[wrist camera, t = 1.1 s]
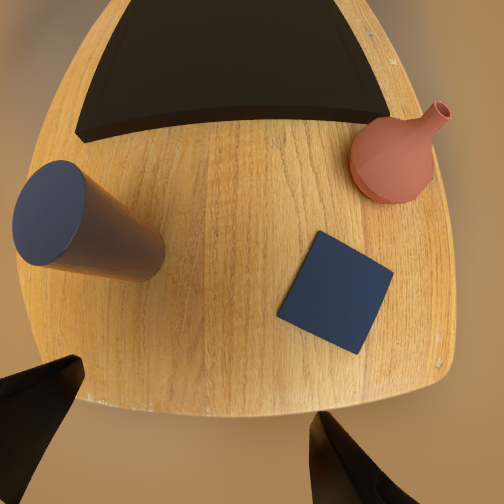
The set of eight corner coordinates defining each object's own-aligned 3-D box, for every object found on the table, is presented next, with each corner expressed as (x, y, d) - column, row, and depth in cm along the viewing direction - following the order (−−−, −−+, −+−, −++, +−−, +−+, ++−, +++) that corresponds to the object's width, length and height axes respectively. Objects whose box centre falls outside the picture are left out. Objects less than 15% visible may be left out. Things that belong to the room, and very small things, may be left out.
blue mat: (355, 353, 22) (357, 355, 21) (276, 315, 22) (276, 316, 22) (391, 273, 23) (394, 272, 22) (318, 231, 23) (319, 230, 23)
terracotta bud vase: (418, 194, 24) (494, 144, 12) (369, 228, 24) (452, 179, 12) (377, 134, 25) (431, 63, 13) (324, 159, 24) (371, 74, 13)
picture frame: (84, 143, 24) (381, 126, 26) (74, 133, 22) (390, 114, 23) (145, -11, 31) (311, -20, 32) (143, -19, 28) (313, -28, 29)
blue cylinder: (147, 293, 22) (51, 287, 9) (103, 264, 22) (0, 235, 10) (176, 240, 23) (105, 180, 10) (130, 214, 23) (45, 147, 10)
